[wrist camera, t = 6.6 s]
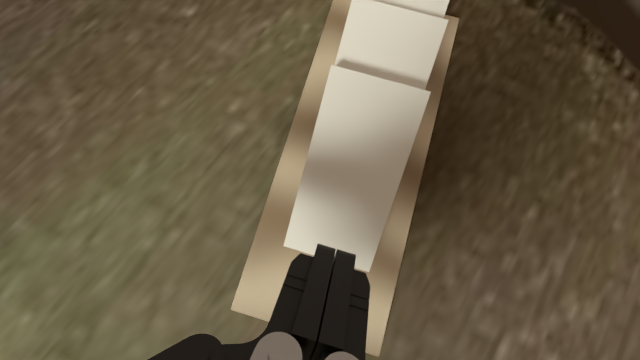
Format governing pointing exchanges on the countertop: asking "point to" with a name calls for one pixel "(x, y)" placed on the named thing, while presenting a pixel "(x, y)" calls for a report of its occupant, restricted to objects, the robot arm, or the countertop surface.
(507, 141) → the countertop surface
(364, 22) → the tile
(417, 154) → the domino board
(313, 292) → the robot arm
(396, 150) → the tile
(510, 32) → the countertop surface
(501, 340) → the countertop surface
